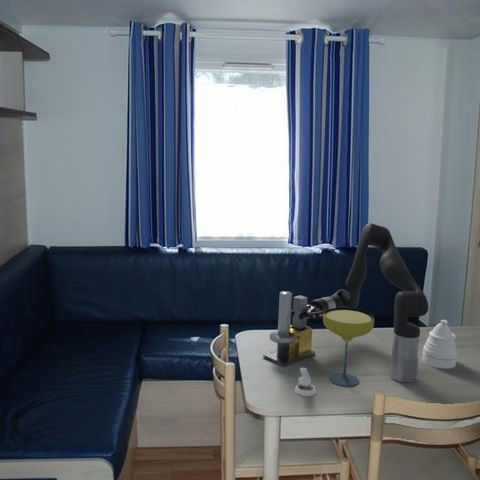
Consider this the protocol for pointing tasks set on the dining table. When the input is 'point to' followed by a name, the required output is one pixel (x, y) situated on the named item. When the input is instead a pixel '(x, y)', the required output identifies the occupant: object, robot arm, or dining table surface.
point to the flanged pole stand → (289, 337)
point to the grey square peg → (299, 312)
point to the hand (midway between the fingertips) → (295, 315)
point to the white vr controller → (305, 384)
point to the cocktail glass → (347, 334)
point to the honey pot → (440, 347)
